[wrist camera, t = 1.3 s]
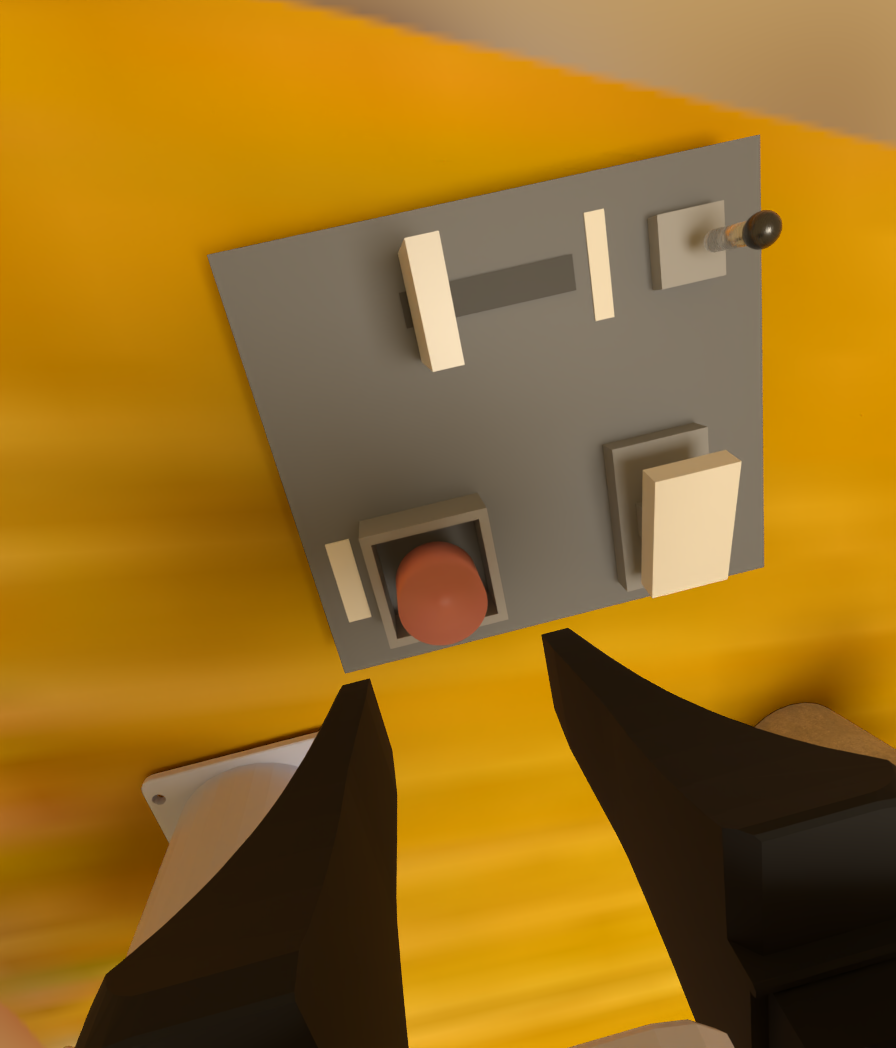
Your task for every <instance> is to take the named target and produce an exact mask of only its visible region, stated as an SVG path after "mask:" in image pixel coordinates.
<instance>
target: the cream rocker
mask: <svg viewBox="0 0 896 1048" xmlns="http://www.w3.org/2000/svg"><path fill="white" fill-rule="evenodd" d="M741 462H742V461H741V460H739V459H738V458H736V457H735V456H734V455H732V454H731V453H729V452H728V451H727V450H723V451H719V452H715V453H711V454H706V455H702V456H698V457H694V458H690V459H686V460H682V461H678V462H674V463H670V464H665V465H661V466H657V467H653V468H649V469H645V470H643V479H642V567H641V584H642V585H643V586H644V588H645V589H646V590H647V592H648V593H649V594H650V596H651V597H652V598H655V597H659V596H663V595H667V594H671V593H675V592H679V591H683V590H687V589H691V588H694V587H698V586H702V585H706V584H710V583H714V582H718V581H722V580H726V579H728V572H729V564H730V555H731V547H732V539H733V530H734V522H735V513H736V505H737V496H738V488H739V479H740V471H741Z"/></svg>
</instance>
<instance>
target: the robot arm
mask: <svg viewBox="0 0 896 1048" xmlns="http://www.w3.org/2000/svg"><path fill="white" fill-rule="evenodd" d="M542 641H543V646H544V652H545V658H546V664H547V669H548V675H549V681H550V686H551V692H552V698H553V704H554V709H555V711H556V714H557V716H558V719H559V722H560V724H561V727H562V729H563V732H564V734H565V737H566V739H567V742H568V744H569V747H570V749H571V751H572V753H573V755H574V756H575V758H576V760H577V762H578V764H579V766H580V768H581V770H582V771H583V773H584V775H585V777H586V779H587V781H588V783H589V784H590V786H591V788H592V790H593V792H594V794H595V795H596V797H597V799H598V801H599V803H600V805H601V806H602V808H603V810H604V812H605V814H606V816H607V818H608V819H609V821H610V823H611V825H612V827H613V829H614V830H615V832H616V834H617V836H618V838H619V840H620V842H621V844H622V846H623V848H624V850H625V852H626V854H627V856H628V858H629V861H630V863H631V865H632V868H633V870H634V873H635V875H636V877H637V880H638V882H639V884H640V887H641V889H642V891H643V894H644V896H645V898H646V901H647V903H648V905H649V908H650V910H651V913H652V915H653V917H654V920H655V922H656V925H657V927H658V929H659V932H660V934H661V937H662V939H663V942H664V944H665V946H666V949H667V951H668V954H669V956H670V958H671V961H672V963H673V966H674V968H675V971H676V973H677V976H678V978H679V981H680V983H681V986H682V988H683V991H684V993H685V996H686V998H687V1001H688V1003H689V1006H690V1008H691V1011H692V1013H693V1016H694V1018H695V1021H696V1022H694V1021H691V1020H679V1021H671V1022H663V1023H654V1024H649V1025H645V1026H642V1027H638V1028H635V1029H631V1030H628V1031H624V1032H621V1033H618V1034H614V1035H611V1036H607V1037H604V1038H600V1039H597V1040H593V1041H590V1042H587V1043H583V1044H580V1045H576V1046H573V1047H569V1048H896V766H895V765H894V764H893V763H891V762H890V761H889V760H886V759H881V758H877V757H872V756H867V755H862V754H857V753H852V752H847V751H842V750H837V749H832V748H827V747H823V746H819V745H815V744H811V743H807V742H803V741H800V740H796V739H792V738H788V737H785V736H781V735H778V734H775V733H771V732H768V731H765V730H762V729H758V728H755V727H753V726H750V725H747V724H744V723H741V722H738V721H736V720H733V719H730V718H727V717H725V716H722V715H719V714H717V713H714V712H712V711H709V710H707V709H705V708H703V707H700V706H698V705H696V704H694V703H691V702H689V701H687V700H685V699H682V698H680V697H678V696H676V695H674V694H672V693H670V692H668V691H666V690H664V689H662V688H661V687H659V686H657V685H655V684H653V683H651V682H650V681H648V680H646V679H644V678H642V677H641V676H639V675H637V674H636V673H634V672H633V671H631V670H629V669H628V668H626V667H625V666H623V665H621V664H620V663H618V662H617V661H615V660H614V659H612V658H611V657H609V656H608V655H606V654H605V653H603V652H602V651H600V650H599V649H597V648H596V647H594V646H593V645H592V644H590V643H589V642H587V641H586V640H585V639H583V638H582V637H580V636H579V635H578V634H576V633H575V632H573V631H572V630H570V629H569V628H566V629H562V630H558V631H554V632H550V633H546V634H542ZM141 790H142V793H143V795H144V797H145V799H146V801H147V803H148V805H149V807H150V808H151V810H152V812H153V814H154V816H155V818H156V820H157V822H158V823H159V825H160V827H161V829H162V831H163V833H164V835H165V837H166V838H167V840H168V842H169V846H168V848H167V851H166V854H165V856H164V859H163V861H162V864H161V867H160V869H159V872H158V875H157V877H156V880H155V882H154V885H153V888H152V890H151V893H150V896H149V898H148V901H147V903H146V906H145V909H144V911H143V914H142V917H141V919H140V922H139V924H138V927H137V930H136V932H135V935H134V937H133V940H132V943H131V945H130V948H129V951H128V953H127V956H126V958H125V959H124V960H123V961H122V962H120V963H119V964H118V965H117V966H116V967H114V968H113V969H112V970H111V971H110V972H108V973H107V974H106V975H105V977H104V980H103V982H102V984H101V986H100V988H99V990H98V993H97V995H96V997H95V999H94V1001H93V1003H92V1006H91V1008H90V1010H89V1013H88V1015H87V1018H86V1020H85V1023H84V1026H83V1028H82V1031H81V1033H80V1036H79V1038H78V1041H77V1043H76V1046H75V1047H72V1046H66V1047H64V1048H408V1038H407V1028H406V1017H405V1007H404V996H403V985H402V975H401V963H400V951H399V939H398V927H397V903H396V876H397V789H396V779H395V770H394V761H393V752H392V748H391V745H390V742H389V738H388V735H387V732H386V729H385V726H384V722H383V719H382V716H381V713H380V710H379V706H378V703H377V700H376V697H375V694H374V690H373V687H372V684H371V681H370V679H366V680H362V681H358V682H354V683H350V684H346V685H343V686H342V687H341V689H340V690H339V692H338V694H337V696H336V698H335V700H334V702H333V704H332V706H331V709H330V711H329V713H328V715H327V716H326V718H325V720H324V722H323V724H322V726H321V728H320V730H319V732H315V733H311V734H307V735H303V736H299V737H296V738H292V739H288V740H284V741H280V742H276V743H272V744H269V745H265V746H261V747H257V748H253V749H249V750H245V751H242V752H238V753H234V754H230V755H226V756H222V757H218V758H214V759H211V760H207V761H203V762H199V763H195V764H191V765H187V766H184V767H180V768H176V769H172V770H168V771H164V772H160V773H156V774H153V775H150V776H148V777H147V778H146V779H145V781H144V783H143V785H142V788H141ZM157 795H163V796H164V797H159V796H157Z"/></svg>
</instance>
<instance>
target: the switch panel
mask: <svg viewBox="0 0 896 1048" xmlns="http://www.w3.org/2000/svg"><path fill="white" fill-rule="evenodd" d="M759 211H761V192H760V135H756V136H751V137H746V138H742V139H737V140H733V141H728V142H724V143H719V144H714V145H710V146H705V147H701V148H696V149H691V150H687V151H682V152H678V153H673V154H668V155H664V156H659V157H655V158H650V159H645V160H641V161H636V162H632V163H627V164H623V165H618V166H613V167H609V168H604V169H600V170H595V171H590V172H586V173H581V174H577V175H572V176H567V177H563V178H558V179H554V180H549V181H544V182H540V183H535V184H531V185H526V186H521V187H517V188H512V189H508V190H503V191H499V192H494V193H489V194H485V195H480V196H476V197H471V198H466V199H462V200H457V201H453V202H448V203H443V204H439V205H434V206H430V207H425V208H420V209H416V210H411V211H407V212H402V213H398V214H393V215H388V216H384V217H379V218H375V219H370V220H365V221H361V222H356V223H352V224H347V225H342V226H338V227H333V228H329V229H324V230H319V231H315V232H310V233H306V234H301V235H296V236H292V237H287V238H283V239H278V240H274V241H269V242H264V243H260V244H255V245H251V246H246V247H241V248H237V249H232V250H228V251H223V252H218V253H214V254H209V255H207V257H208V260H209V263H210V266H211V269H212V272H213V275H214V278H215V281H216V284H217V287H218V290H219V293H220V296H221V299H222V302H223V305H224V308H225V311H226V314H227V317H228V320H229V323H230V326H231V329H232V332H233V335H234V339H235V342H236V345H237V348H238V351H239V354H240V357H241V360H242V363H243V366H244V369H245V372H246V375H247V378H248V381H249V384H250V387H251V390H252V393H253V396H254V399H255V402H256V405H257V408H258V411H259V414H260V417H261V420H262V423H263V426H264V429H265V432H266V435H267V438H268V442H269V445H270V448H271V451H272V454H273V457H274V460H275V463H276V466H277V469H278V472H279V475H280V478H281V481H282V484H283V487H284V490H285V493H286V496H287V499H288V502H289V505H290V508H291V511H292V514H293V517H294V520H295V523H296V526H297V529H298V532H299V535H300V538H301V541H302V544H303V548H304V551H305V554H306V557H307V560H308V563H309V566H310V569H311V572H312V575H313V578H314V581H315V584H316V587H317V590H318V593H319V596H320V599H321V602H322V605H323V608H324V611H325V614H326V617H327V620H328V623H329V626H330V629H331V632H332V635H333V638H334V641H335V644H336V647H337V651H338V654H339V657H340V660H341V663H342V666H343V669H344V672H345V673H349V672H353V671H357V670H361V669H365V668H369V667H372V666H376V665H380V664H384V663H388V662H392V661H396V660H400V659H404V658H408V657H412V656H416V655H420V654H424V653H427V652H431V651H435V650H439V649H443V648H447V647H451V646H455V645H459V644H463V643H467V642H471V641H475V640H479V639H483V638H486V637H490V636H494V635H498V634H502V633H506V632H510V631H514V630H518V629H522V628H526V627H530V626H534V625H538V624H541V623H545V622H549V621H553V620H557V619H561V618H565V617H569V616H573V615H577V614H581V613H585V612H589V611H593V610H596V609H600V608H604V607H608V606H612V605H616V604H620V603H624V602H628V601H632V600H636V599H640V598H644V597H648V596H650V594H649V593H648V592H647V590H646V589H645V588H644V586H643V585H642V584H641V567H642V479H643V470H645V469H649V468H653V467H657V466H661V465H665V464H670V463H674V462H678V461H682V460H686V459H690V458H694V457H698V456H702V455H706V454H711V453H715V452H719V451H723V450H727V451H728V452H729V453H731V454H732V455H734V456H735V457H736V458H738V459H739V460H741V461H742V462H741V471H740V479H739V488H738V496H737V505H736V513H735V522H734V530H733V539H732V547H731V555H730V564H729V572H728V576H730V575H734V574H738V573H742V572H746V571H750V570H754V569H758V568H762V567H764V512H763V405H762V299H761V250H755V249H751V248H749V247H748V246H744V247H740V248H735V249H730V250H725V251H720V252H714V253H711V252H708V251H707V250H706V249H705V248H704V246H703V240H704V237H705V235H706V234H707V233H708V232H709V231H710V230H712V229H715V228H720V227H724V226H728V225H732V224H736V223H740V222H744V221H747V220H748V219H749V218H750V217H751V216H752V215H753V214H755V213H757V212H759ZM434 231H439V234H440V239H441V244H442V250H443V255H444V260H445V265H446V270H447V275H448V281H449V286H450V291H451V296H452V301H453V306H454V312H455V317H456V322H457V327H458V332H459V338H460V343H461V348H462V353H463V358H464V363H465V365H461V366H457V367H452V368H448V369H444V370H440V371H435V372H432V371H431V370H430V369H429V368H428V367H427V366H426V365H424V364H423V363H422V361H421V357H420V352H419V348H418V343H417V339H416V334H415V329H414V325H413V320H412V316H411V311H410V307H409V302H408V298H407V293H406V288H405V284H404V279H403V275H402V270H401V266H400V261H399V257H398V252H399V249H400V247H401V245H402V242H403V240H404V238H407V237H411V236H416V235H420V234H425V233H430V232H434ZM438 541H439V542H448V543H451V544H454V545H456V546H458V547H460V548H462V549H463V550H464V551H465V552H467V553H468V555H469V556H470V557H471V559H472V560H473V562H474V564H475V567H476V569H477V571H478V574H479V576H480V579H481V581H482V583H483V586H484V588H485V590H486V594H487V600H488V606H487V611H486V615H485V617H484V620H483V621H482V623H481V625H480V626H479V627H478V629H477V630H476V631H475V632H474V633H473V634H471V635H470V636H469V637H467V638H465V639H464V640H462V641H459V642H457V643H454V644H449V645H431V644H427V643H424V642H421V641H419V640H417V639H415V638H414V637H413V636H411V635H410V634H409V633H408V632H407V631H406V629H405V628H404V627H403V625H402V623H401V620H400V618H399V613H398V603H397V592H396V573H397V569H398V567H399V565H400V563H401V561H402V560H403V558H404V557H405V556H406V555H407V554H408V553H409V552H410V551H411V550H413V549H414V548H416V547H418V546H420V545H422V544H425V543H429V542H438Z"/></svg>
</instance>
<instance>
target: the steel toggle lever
mask: <svg viewBox="0 0 896 1048" xmlns="http://www.w3.org/2000/svg"><path fill="white" fill-rule="evenodd" d="M781 231H782V221H781V218H780V217H779V215H778V214H777V213H775V212H773V211H770V210H763V211H759V212H757V213H755V214H753V215H752V216H751V217H750V218H749V219H748V220H747V221H744V222H740V223H736V224H732V225H728V226H724V227H720V228H715V229H712V230H710V231H709V232H708V233H707V234H706V235H705V237H704V240H703V246H704V248H705V249H706V250H707V251H708V252H711V253H714V252H720V251H725V250H730V249H735V248H740V247H744V246H748V247H749V248H751V249H755V250H761V249H765V248H767V247H769V246H771V245H772V244H773V243H774V242H775V241H776V240H777V239H778V237H779V236H780V234H781Z"/></svg>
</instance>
